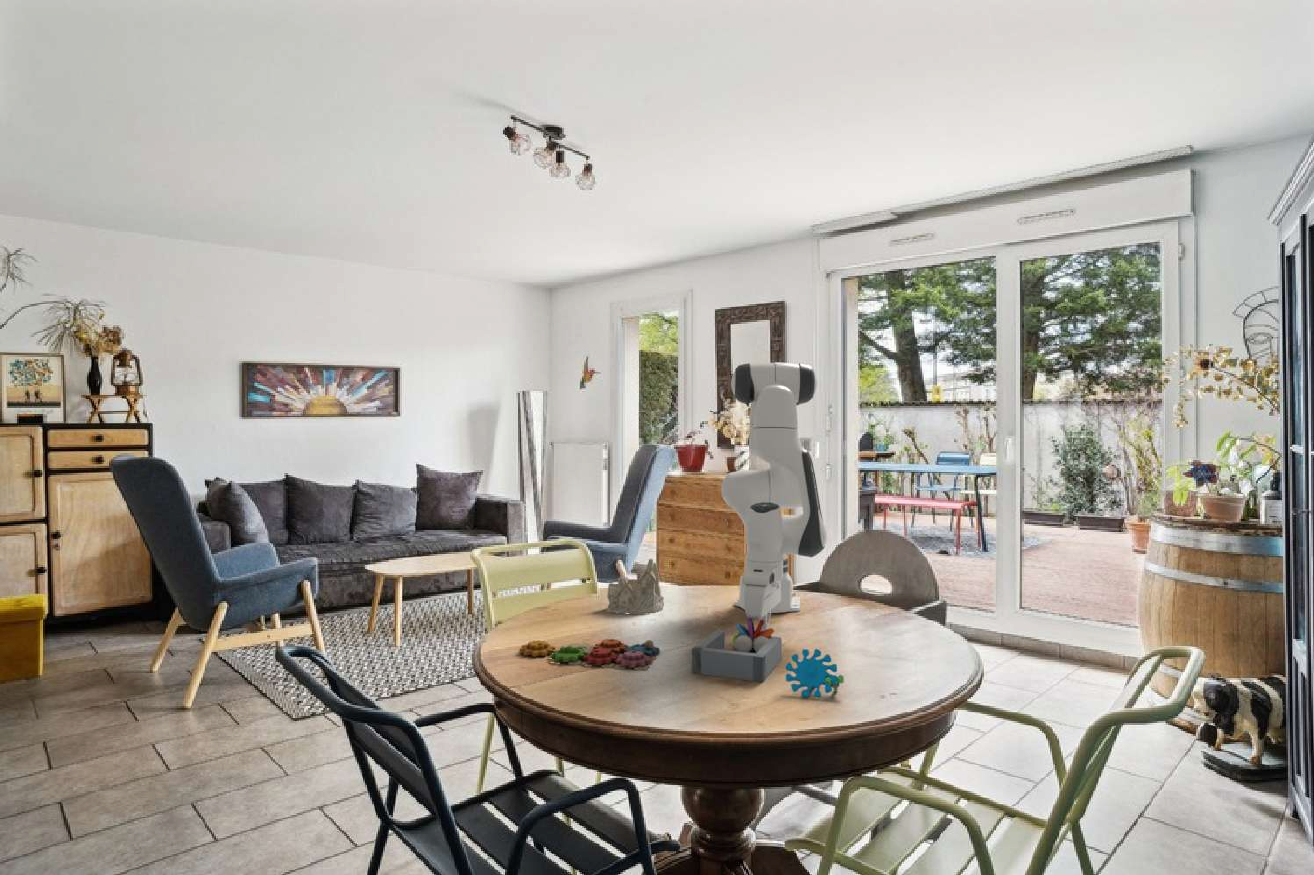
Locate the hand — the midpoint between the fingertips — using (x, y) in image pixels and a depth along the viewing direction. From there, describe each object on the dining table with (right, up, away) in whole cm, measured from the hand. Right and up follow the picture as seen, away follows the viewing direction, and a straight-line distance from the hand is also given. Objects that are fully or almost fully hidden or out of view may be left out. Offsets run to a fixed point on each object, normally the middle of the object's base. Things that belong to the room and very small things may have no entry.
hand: (764, 629), depth 184 cm
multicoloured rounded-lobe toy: (-3, -3, -8) cm, 9 cm away
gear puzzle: (-41, -3, -13) cm, 43 cm away
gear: (+5, -3, -36) cm, 37 cm away
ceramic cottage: (-31, -3, +34) cm, 46 cm away
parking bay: (-8, -3, -20) cm, 22 cm away
